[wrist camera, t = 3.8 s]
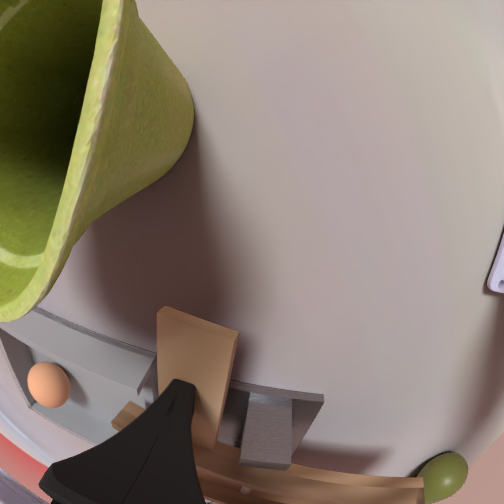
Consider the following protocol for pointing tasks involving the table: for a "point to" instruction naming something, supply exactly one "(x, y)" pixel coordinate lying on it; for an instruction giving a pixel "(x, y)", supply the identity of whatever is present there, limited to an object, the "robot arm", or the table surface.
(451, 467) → the pear
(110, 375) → the tray
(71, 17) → the plant pot
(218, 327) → the plank
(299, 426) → the fulcrum
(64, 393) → the ball
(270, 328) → the table surface
